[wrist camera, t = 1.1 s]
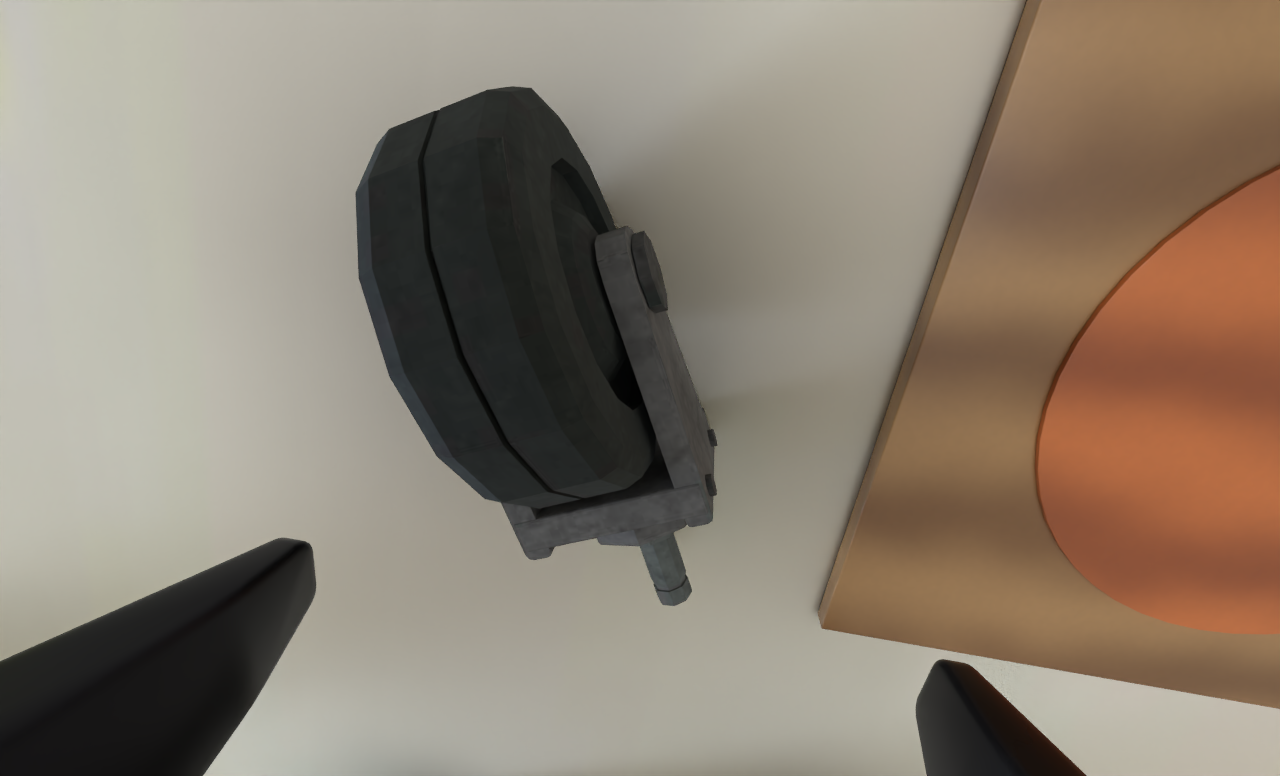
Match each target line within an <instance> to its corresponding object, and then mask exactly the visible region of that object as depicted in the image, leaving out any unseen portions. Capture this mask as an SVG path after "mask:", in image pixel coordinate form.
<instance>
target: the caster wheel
mask: <svg viewBox="0 0 1280 776" xmlns="http://www.w3.org/2000/svg"><path fill="white" fill-rule="evenodd" d="M356 216H357V242H358V269H359V280H360V283H361V286H362V290H363V293H364V296H365V299H366V303H367V306H368V309H369V312H370V315H371V319H372V322H373V325H374V328H375V332H376V335H377V338H378V341H379V344H380V348H381V351H382V354H383V357H384V360H385V364H386V367H387V370H388V373H389V376H390V378H391V380H392V381H393V383H394V385H395V387H396V388H397V390H398V392H399V393H400V395H401V397H402V398H403V400H404V402H405V403H406V405H407V407H408V408H409V410H410V412H411V414H412V415H413V417H414V419H415V420H416V422H417V424H418V425H419V427H420V429H421V430H422V432H423V434H424V435H425V437H426V439H427V440H428V442H429V444H430V446H431V447H432V449H433V451H434V452H435V454H436V456H437V457H438V458H439V459H441V460H442V461H443V462H444V463H445V464H446V465H447V466H448V467H450V468H451V469H452V470H453V471H454V472H455V473H456V474H457V475H459V476H460V477H461V478H462V479H463V480H464V481H465V482H467V483H468V484H469V485H470V486H471V487H472V488H473V489H474V490H476V491H477V492H478V493H479V494H480V495H481V496H482V497H483V498H485V499H488V500H492V501H497V502H501V504H502V506H503V508H504V510H505V512H506V514H507V517H508V519H509V521H510V523H511V525H512V527H513V529H514V532H515V534H516V536H517V538H518V540H519V542H520V544H521V546H522V549H523V551H524V553H525V555H526V556H527V557H528V558H529V559H531V560H537V559H542V558H547V557H549V556H551V554H552V551H553V549H554V547H555V546H560V545H565V544H569V543H574V542H579V541H584V540H588V539H593V538H597V540H598V542H599V543H600V544H601V545H622V546H640V548H641V551H642V554H643V557H644V559H645V562H646V565H647V568H648V571H649V574H650V576H651V579H652V580H653V582H654V587H655V589H656V592H657V595H658V597H659V599H660V601H661V603H662V604H663V605H670V606H675V605H678V604H680V603H682V602H684V601H686V600H687V599H688V597H689V595H690V594H691V592H692V589H691V586H690V583H689V580H688V577H687V576H686V574H685V573H686V570H685V567H684V564H683V561H682V558H681V555H680V552H679V549H678V546H677V543H676V540H675V537H674V534H673V533H674V532H675V531H677V530H679V529H682V528H684V527H685V526H686V525H688V526H689V527H695V526H700V525H705V524H708V523H710V522H711V521H712V519H713V496H715V495H717V490H716V485H715V481H714V446H717V440H716V436H715V433H714V430H713V429H710V428H709V424H708V421H707V418H706V414H705V411H704V409H703V408H702V407H701V405H700V402H699V400H698V397H697V394H696V391H695V389H694V386H693V383H692V381H691V378H690V375H689V372H688V370H687V367H686V364H685V362H684V359H683V356H682V353H681V351H680V348H679V345H678V343H677V340H676V337H675V334H674V332H673V329H672V326H671V324H670V321H669V318H668V315H667V313H666V310H668V305H667V293H666V289H665V285H664V281H663V277H662V273H661V269H660V265H659V263H658V260H657V257H656V254H655V251H654V249H653V246H652V243H651V240H650V239H649V238H648V236H647V235H646V233H645V232H644V231H642V232H639V233H636V234H635V233H634V232H633V230H632V229H631V228H630V227H628V226H625V227H622V228H619V229H616V228H615V225H614V222H613V219H612V216H611V214H610V212H609V209H608V207H607V205H606V203H605V200H604V198H603V196H602V193H601V191H600V189H599V187H598V184H597V182H596V180H595V178H594V175H593V173H592V171H591V168H590V166H589V165H588V163H587V161H586V160H585V158H584V156H583V154H582V153H581V151H580V149H579V148H578V146H577V144H576V142H575V141H574V139H573V137H572V135H571V134H570V132H569V130H568V129H567V127H566V126H565V124H564V123H563V122H562V120H561V119H560V118H559V117H558V115H557V114H556V113H555V112H554V111H553V110H552V109H551V108H550V107H549V106H548V105H547V104H546V103H545V102H544V101H543V100H542V99H541V98H540V97H539V96H538V95H537V94H536V93H535V91H534V90H533V89H532V88H524V87H505V88H498V89H491V90H486V91H484V92H481V93H479V94H476V95H473V96H471V97H468V98H466V99H463V100H461V101H458V102H456V103H453V104H451V105H448V106H446V107H443V108H441V109H440V110H437V111H433V112H431V113H428V114H426V115H423V116H421V117H418V118H416V119H413V120H411V121H408V122H406V123H403V124H401V125H398V126H396V127H393V128H390V129H389V130H388V131H387V133H386V134H385V135H384V136H383V137H382V139H381V140H380V141H379V142H378V144H377V146H376V148H375V150H374V152H373V155H372V157H371V159H370V161H369V164H368V166H367V168H366V170H365V173H364V175H363V177H362V180H361V182H360V184H359V186H358V189H357V191H356Z"/></svg>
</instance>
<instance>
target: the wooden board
mask: <svg viewBox="0 0 1280 776" xmlns="http://www.w3.org/2000/svg"><path fill="white" fill-rule="evenodd" d="M818 616H819V620H820V624H821V628H822V629H828V630H834V631H839V632H845V633H851V634H856V635H862V636H868V637H873V638H879V639H885V640H891V641H896V642H902V643H908V644H913V645H919V646H925V647H930V648H936V649H942V650H948V651H953V652H959V653H965V654H970V655H976V656H982V657H987V658H993V659H999V660H1005V661H1010V662H1016V663H1022V664H1027V665H1033V666H1039V667H1044V668H1050V669H1056V670H1062V671H1067V672H1073V673H1079V674H1084V675H1090V676H1096V677H1101V678H1107V679H1113V680H1119V681H1124V682H1130V683H1136V684H1141V685H1147V686H1153V687H1158V688H1164V689H1170V690H1176V691H1181V692H1187V693H1193V694H1198V695H1204V696H1210V697H1215V698H1221V699H1227V700H1233V701H1238V702H1244V703H1250V704H1255V705H1261V706H1267V707H1272V708H1278V709H1280V0H1027V2H1026V5H1025V8H1024V11H1023V14H1022V17H1021V20H1020V23H1019V26H1018V29H1017V31H1016V34H1015V37H1014V40H1013V43H1012V46H1011V49H1010V52H1009V55H1008V58H1007V61H1006V64H1005V67H1004V70H1003V72H1002V75H1001V78H1000V81H999V84H998V87H997V90H996V93H995V96H994V99H993V102H992V105H991V108H990V110H989V113H988V116H987V119H986V122H985V125H984V128H983V131H982V134H981V137H980V140H979V143H978V146H977V149H976V151H975V154H974V157H973V160H972V163H971V166H970V169H969V172H968V175H967V178H966V181H965V184H964V187H963V189H962V192H961V195H960V198H959V201H958V204H957V207H956V210H955V213H954V216H953V219H952V222H951V225H950V228H949V230H948V233H947V236H946V239H945V242H944V245H943V248H942V251H941V254H940V257H939V260H938V263H937V266H936V268H935V271H934V274H933V277H932V280H931V283H930V286H929V289H928V292H927V295H926V298H925V301H924V304H923V307H922V309H921V312H920V315H919V318H918V321H917V324H916V327H915V330H914V333H913V336H912V339H911V342H910V345H909V347H908V350H907V353H906V356H905V359H904V362H903V365H902V368H901V371H900V374H899V377H898V380H897V383H896V386H895V388H894V391H893V394H892V397H891V400H890V403H889V406H888V409H887V412H886V415H885V418H884V421H883V424H882V426H881V429H880V432H879V435H878V438H877V441H876V444H875V447H874V450H873V453H872V456H871V459H870V462H869V465H868V467H867V470H866V473H865V476H864V479H863V482H862V485H861V488H860V491H859V494H858V497H857V500H856V503H855V505H854V508H853V511H852V514H851V517H850V520H849V523H848V526H847V529H846V532H845V535H844V538H843V541H842V544H841V546H840V549H839V552H838V555H837V558H836V561H835V564H834V567H833V570H832V573H831V576H830V579H829V582H828V584H827V587H826V590H825V593H824V596H823V599H822V602H821V605H820V608H819V611H818Z"/></svg>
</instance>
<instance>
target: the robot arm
mask: <svg viewBox="0 0 1280 776" xmlns="http://www.w3.org/2000/svg"><path fill="white" fill-rule="evenodd" d="M315 591H316V578H315V568H314V558H313V550H312V547H311V545H310V544H309V543H307V542H305V541H301V540H295V539H290V538H278V539H275V540H273V541H270V542H268V543H266V544H264V545H261V546H259V547H257V548H255V549H252V550H250V551H248V552H246V553H243V554H241V555H239V556H237V557H234V558H232V559H230V560H228V561H225V562H223V563H221V564H219V565H216V566H214V567H212V568H210V569H207V570H205V571H203V572H201V573H198V574H196V575H194V576H192V577H189V578H187V579H185V580H183V581H180V582H178V583H176V584H174V585H171V586H169V587H167V588H165V589H162V590H160V591H158V592H156V593H153V594H151V595H149V596H146V597H144V598H142V599H140V600H137V601H135V602H133V603H131V604H128V605H126V606H124V607H122V608H119V609H117V610H115V611H113V612H110V613H108V614H106V615H104V616H101V617H99V618H97V619H95V620H92V621H90V622H88V623H86V624H83V625H81V626H79V627H77V628H74V629H72V630H70V631H68V632H65V633H63V634H61V635H59V636H56V637H54V638H52V639H50V640H47V641H45V642H43V643H40V644H38V645H36V646H34V647H31V648H29V649H27V650H25V651H22V652H20V653H18V654H16V655H13V656H11V657H9V658H7V659H4V660H2V661H0V776H203V775H204V773H205V772H206V771H207V769H208V768H209V766H210V765H211V764H212V762H213V761H214V759H215V758H216V756H217V755H218V754H219V752H220V751H221V749H222V748H223V747H224V745H225V744H226V742H227V741H228V739H229V738H230V737H231V735H232V734H233V732H234V731H235V730H236V728H237V727H238V725H239V724H240V722H241V721H242V720H243V718H244V717H245V715H246V714H247V712H248V711H249V709H250V708H251V706H252V705H253V703H254V702H255V700H256V698H257V697H258V695H259V693H260V692H261V690H262V688H263V687H264V685H265V683H266V681H267V680H268V678H269V676H270V675H271V673H272V671H273V669H274V668H275V666H276V664H277V662H278V661H279V659H280V657H281V655H282V654H283V652H284V650H285V648H286V647H287V645H288V643H289V641H290V640H291V638H292V636H293V634H294V633H295V631H296V629H297V627H298V626H299V624H300V622H301V620H302V619H303V617H304V615H305V613H306V612H307V610H308V608H309V606H310V605H311V603H312V601H313V598H314V595H315ZM916 719H917V725H918V730H919V736H920V741H921V747H922V752H923V758H924V763H925V769H926V774H927V776H1086V775H1085V774H1084V773H1083V772H1082V771H1081V770H1080V769H1079V768H1078V767H1077V766H1076V765H1075V764H1074V763H1073V762H1072V761H1071V760H1070V759H1069V758H1068V757H1066V756H1065V755H1064V754H1063V753H1062V752H1061V751H1060V750H1059V749H1058V748H1057V747H1056V746H1055V745H1054V744H1053V743H1052V742H1051V741H1050V740H1049V739H1048V738H1047V737H1046V736H1045V735H1043V734H1042V733H1041V732H1040V731H1039V730H1038V729H1037V728H1036V727H1035V726H1034V725H1033V724H1032V723H1031V722H1030V721H1029V720H1028V719H1027V718H1026V717H1025V716H1024V715H1023V714H1022V713H1020V712H1019V711H1018V710H1017V709H1016V708H1015V707H1014V706H1013V705H1012V704H1011V703H1010V702H1009V701H1008V700H1007V699H1006V698H1005V697H1004V696H1003V695H1002V694H1001V693H1000V692H998V691H997V690H996V689H995V688H994V687H993V686H992V685H991V684H990V683H989V682H988V681H987V680H986V679H985V678H984V677H983V676H982V675H981V674H980V673H979V672H978V671H977V670H975V669H974V668H973V667H972V666H970V665H968V664H965V663H961V662H955V661H950V660H944V659H942V660H938V661H937V662H936V663H935V664H934V665H933V667H932V669H931V671H930V673H929V675H928V677H927V679H926V681H925V683H924V685H923V688H922V690H921V692H920V694H919V696H918V698H917V702H916Z"/></svg>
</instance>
